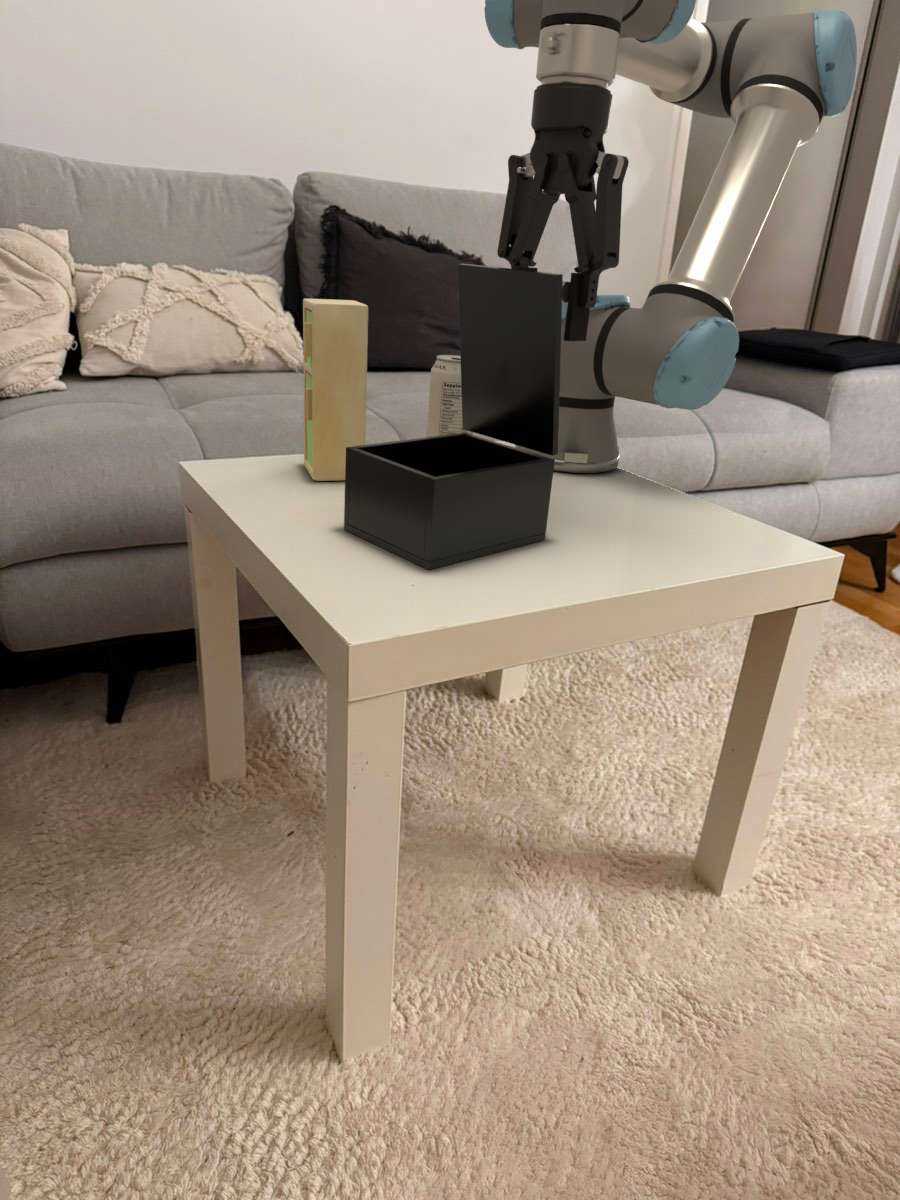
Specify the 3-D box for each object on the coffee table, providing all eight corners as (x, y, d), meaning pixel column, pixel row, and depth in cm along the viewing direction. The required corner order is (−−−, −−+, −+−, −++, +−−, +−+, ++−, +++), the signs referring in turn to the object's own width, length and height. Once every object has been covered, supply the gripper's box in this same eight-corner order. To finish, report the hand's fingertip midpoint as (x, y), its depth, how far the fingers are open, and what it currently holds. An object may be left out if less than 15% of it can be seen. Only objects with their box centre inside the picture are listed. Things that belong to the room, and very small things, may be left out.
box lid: (557, 275, 79) (600, 266, 82) (457, 264, 88) (500, 257, 91) (552, 456, 87) (592, 441, 91) (462, 429, 96) (501, 416, 100)
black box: (428, 570, 80) (434, 479, 77) (343, 529, 89) (345, 447, 86) (545, 540, 91) (555, 459, 87) (458, 506, 100) (464, 432, 96)
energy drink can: (460, 466, 117) (470, 355, 112) (475, 478, 112) (485, 362, 106) (419, 467, 116) (426, 353, 110) (431, 479, 110) (439, 360, 104)
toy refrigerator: (297, 465, 112) (297, 296, 104) (352, 464, 114) (356, 299, 106) (306, 481, 105) (307, 302, 97) (364, 481, 107) (370, 305, 99)
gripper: (473, 86, 85) (457, 324, 95) (635, 71, 72) (598, 350, 81) (524, 98, 90) (504, 323, 99) (685, 86, 77) (644, 347, 86)
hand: (546, 335), depth 90 cm, fingers closed on box lid, 7 cm apart
